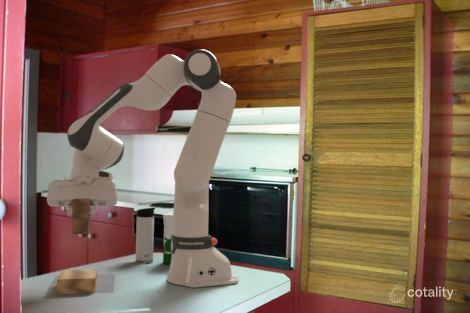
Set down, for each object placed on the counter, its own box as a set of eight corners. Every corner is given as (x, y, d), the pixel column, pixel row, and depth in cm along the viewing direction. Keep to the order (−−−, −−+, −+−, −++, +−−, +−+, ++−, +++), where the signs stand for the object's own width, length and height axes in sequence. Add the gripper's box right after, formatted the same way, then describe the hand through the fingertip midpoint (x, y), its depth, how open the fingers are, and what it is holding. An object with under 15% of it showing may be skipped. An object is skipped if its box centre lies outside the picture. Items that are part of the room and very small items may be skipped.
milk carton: (191, 261, 173) (192, 207, 173) (181, 266, 165) (182, 210, 165) (170, 259, 176) (171, 206, 176) (159, 264, 167) (160, 208, 167)
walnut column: (89, 231, 140) (90, 198, 140) (88, 234, 135) (88, 199, 135) (73, 231, 139) (74, 198, 139) (71, 234, 134) (72, 199, 134)
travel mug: (150, 264, 167) (151, 208, 167) (132, 263, 168) (134, 207, 168) (156, 260, 173) (157, 206, 173) (139, 259, 174) (141, 206, 174)
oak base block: (97, 282, 139) (97, 269, 139) (94, 292, 129) (95, 278, 129) (61, 284, 137) (62, 270, 137) (56, 294, 127) (56, 279, 127)
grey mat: (115, 275, 150) (115, 274, 150) (113, 294, 130) (113, 291, 130) (56, 277, 146) (56, 275, 146) (44, 296, 126) (44, 294, 126)
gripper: (48, 173, 142) (41, 209, 132) (117, 173, 146) (116, 208, 136) (51, 187, 146) (44, 222, 136) (118, 186, 150) (116, 221, 141)
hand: (80, 215), depth 136 cm, fingers closed on walnut column, 4 cm apart
